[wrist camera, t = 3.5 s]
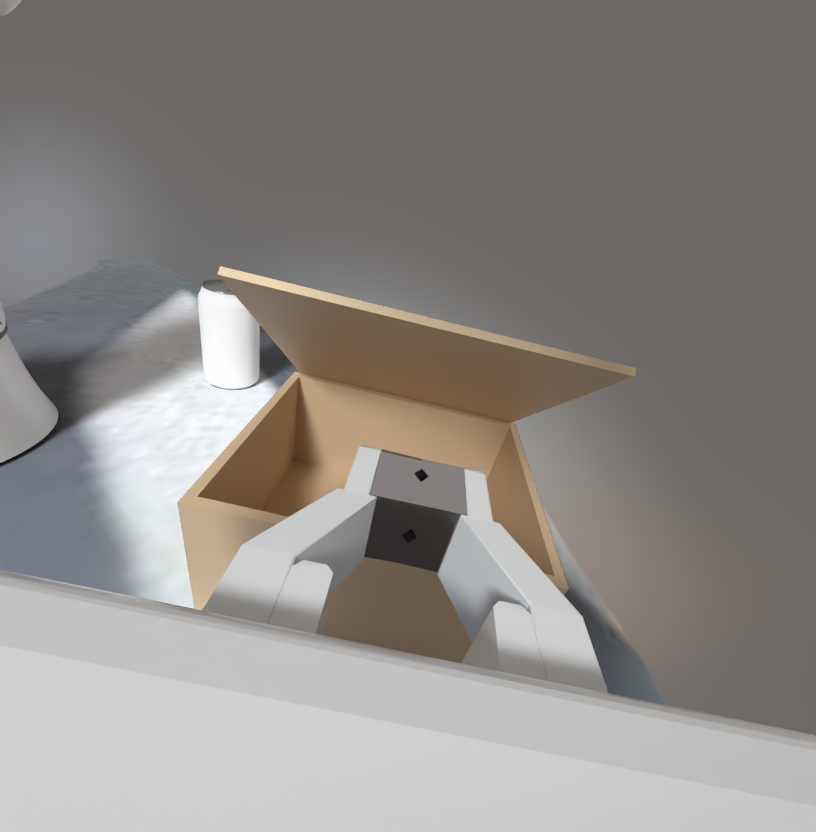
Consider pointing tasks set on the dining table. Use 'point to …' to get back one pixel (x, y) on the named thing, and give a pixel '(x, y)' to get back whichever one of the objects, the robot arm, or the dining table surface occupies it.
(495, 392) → the carton flap
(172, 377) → the dining table surface
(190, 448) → the dining table surface
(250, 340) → the can
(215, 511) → the carton
